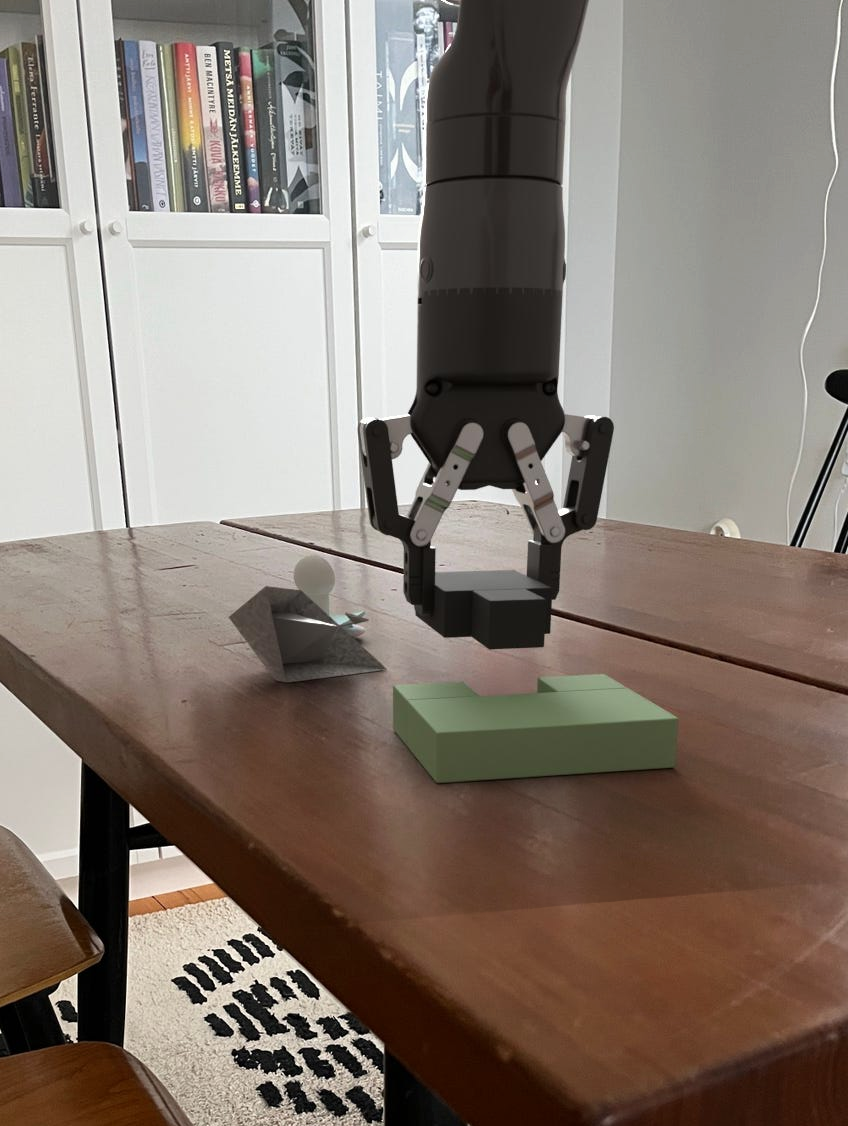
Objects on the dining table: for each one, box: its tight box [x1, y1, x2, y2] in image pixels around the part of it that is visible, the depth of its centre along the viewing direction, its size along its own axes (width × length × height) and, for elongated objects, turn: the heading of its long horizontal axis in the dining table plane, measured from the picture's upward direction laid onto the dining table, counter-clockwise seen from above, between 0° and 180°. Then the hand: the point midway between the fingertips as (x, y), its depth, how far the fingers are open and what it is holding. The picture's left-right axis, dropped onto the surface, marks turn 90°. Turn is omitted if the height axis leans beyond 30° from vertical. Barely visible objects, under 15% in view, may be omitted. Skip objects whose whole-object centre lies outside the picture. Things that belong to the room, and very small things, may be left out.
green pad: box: [392, 673, 680, 784], centre depth 65 cm, size 12×10×2 cm
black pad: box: [414, 569, 553, 651], centre depth 69 cm, size 6×10×2 cm, turn 11°
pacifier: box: [293, 554, 366, 638], centre depth 91 cm, size 7×6×6 cm
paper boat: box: [228, 585, 388, 684], centre depth 79 cm, size 12×6×9 cm
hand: (480, 609), depth 71 cm, fingers closed on black pad, 6 cm apart
